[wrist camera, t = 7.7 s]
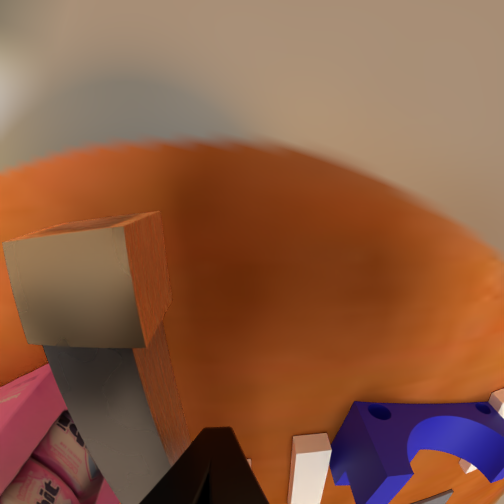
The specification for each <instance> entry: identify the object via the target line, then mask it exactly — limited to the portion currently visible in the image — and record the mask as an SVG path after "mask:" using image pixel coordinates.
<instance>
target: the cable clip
mask: <svg viewBox="0 0 504 504" xmlns="http://www.w3.org/2000/svg"><path fill="white" fill-rule="evenodd" d="M331 449H332V451H331V456H330V461H329V465H330V469H331V473H332V476H333V480H334V484H335V485H350V486H351V489H352V493H353V496H354V499H355V502H356V504H388V503H389V502H390V501H391V500H392V499H393V498H394V496H395V495H396V494H397V493H398V492H399V491H400V490H401V489H402V487H403V486H404V485H405V484H406V483H407V481H408V480H409V479H410V478H411V477H412V475H413V474H414V473H413V471H412V468H411V466H410V462H411V460H412V459H413V458H414V456H415V455H416V454H417V452H418V451H419V450H420V449H430V450H438V451H443V452H447V453H450V454H453V455H456V456H458V457H460V458H462V459H464V460H466V461H467V462H469V463H471V464H472V465H473V466H475V467H476V468H477V469H478V470H480V471H481V472H482V473H483V474H484V475H485V477H486V478H487V479H488V480H489V482H490V483H492V482H495V481H498V480H501V479H503V478H504V419H503V418H502V416H501V415H500V414H499V413H498V412H497V411H496V410H495V409H494V408H493V407H492V406H491V404H490V403H489V402H473V403H450V404H398V403H374V402H358V401H354V403H353V405H352V407H351V409H350V411H349V413H348V415H347V417H346V418H345V420H344V422H343V424H342V426H341V428H340V430H339V431H338V433H337V435H336V437H335V439H334V440H333V442H332V444H331Z"/></svg>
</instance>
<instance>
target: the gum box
mask: <svg viewBox="0 0 504 504" xmlns="http://www.w3.org/2000/svg"><path fill="white" fill-rule="evenodd" d="M119 502H120V501H119V500H118V498H117V497H116V495H115V494H114V492H113V491H112V489H111V488H110V486H109V484H108V483H107V481H106V480H105V478H104V476H103V475H102V473H101V471H100V470H99V468H98V466H97V465H96V463H95V461H94V459H93V458H92V456H91V454H90V452H89V450H88V449H87V447H86V445H85V443H84V441H83V439H82V437H81V435H80V433H79V431H78V429H77V427H76V425H75V423H74V421H73V419H72V417H71V415H70V413H69V411H68V409H67V406H66V404H65V402H64V400H63V397H62V395H61V393H60V390H59V388H58V385H57V383H56V381H55V378H54V376H53V373H52V370H51V368H50V365H49V363H48V364H46V365H44V366H42V367H40V368H38V369H36V370H34V371H32V372H30V373H28V374H26V375H24V376H21V377H19V378H17V379H15V380H14V381H12V382H10V383H8V384H6V385H4V386H1V387H0V504H119Z"/></svg>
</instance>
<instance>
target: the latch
mask: <svg viewBox="0 0 504 504" xmlns="http://www.w3.org/2000/svg"><path fill="white" fill-rule="evenodd" d="M2 244H3V250H4V255H5V260H6V265H7V270H8V274H9V279H10V283H11V287H12V291H13V295H14V299H15V303H16V306H17V310H18V313H19V317H20V320H21V323H22V326H23V330H24V333H25V336H26V339H27V342H28V344H35V345H43V348H44V351H45V354H46V357H47V360H48V362H49V365H50V368H51V370H52V373H53V376H54V378H55V381H56V383H57V385H58V388H59V390H60V393H61V395H62V397H63V400H64V402H65V404H66V406H67V409H68V411H69V413H70V415H71V417H72V419H73V421H74V423H75V425H76V427H77V429H78V431H79V433H80V435H81V437H82V439H83V441H84V443H85V445H86V447H87V449H88V450H89V452H90V454H91V456H92V458H93V459H94V461H95V463H96V465H97V466H98V468H99V470H100V471H101V473H102V475H103V476H104V478H105V480H106V481H107V483H108V484H109V486H110V488H111V489H112V491H113V492H114V494H115V495H116V497H117V498H118V500H119V501H120V503H121V504H139V503H140V502H141V501H142V500H143V498H144V497H145V496H146V495H147V494H148V493H149V492H150V491H151V490H152V488H153V487H154V486H155V485H156V484H157V483H158V482H159V481H160V479H161V478H162V477H163V476H164V475H165V474H166V473H167V471H168V470H169V469H170V468H171V467H172V466H173V464H174V463H175V462H176V461H177V460H178V459H179V457H180V456H181V455H182V454H183V453H184V451H185V450H186V449H187V448H188V447H189V445H190V444H191V443H192V442H191V438H190V435H189V431H188V427H187V424H186V420H185V416H184V413H183V409H182V405H181V401H180V397H179V393H178V389H177V385H176V381H175V377H174V373H173V368H172V364H171V359H170V355H169V350H168V345H167V341H166V336H165V331H164V326H163V321H162V318H163V317H164V315H165V313H166V311H167V310H168V308H169V306H170V304H171V303H172V301H173V298H172V292H171V286H170V279H169V272H168V265H167V258H166V251H165V243H164V235H163V227H162V219H161V211H154V212H145V213H137V214H128V215H120V216H113V217H105V218H97V219H90V220H83V221H76V222H69V223H62V224H58V225H55V226H51V227H48V228H45V229H42V230H39V231H35V232H32V233H29V234H26V235H23V236H20V237H17V238H14V239H11V240H8V241H5V242H2Z"/></svg>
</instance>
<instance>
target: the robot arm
mask: <svg viewBox="0 0 504 504" xmlns="http://www.w3.org/2000/svg"><path fill="white" fill-rule="evenodd" d="M139 504H269V502H268V500H267V498H266V496H265V495H264V493H263V491H262V489H261V487H260V485H259V483H258V481H257V479H256V477H255V475H254V473H253V471H252V469H251V467H250V465H249V463H248V461H247V459H246V457H245V455H244V453H243V450H242V448H241V446H240V444H239V442H238V440H237V438H236V435H235V433H234V431H233V429H232V428H231V427H229V426H228V427H206V428H204V429H203V430H202V431H201V432H200V433H199V435H198V436H197V437H196V438H195V439H194V441H193V442H192V443H191V444H190V445H189V447H188V448H187V449H186V450H185V451H184V453H183V454H182V455H181V456H180V457H179V459H178V460H177V461H176V462H175V463H174V464H173V466H172V467H171V468H170V469H169V470H168V471H167V473H166V474H165V475H164V476H163V477H162V478H161V479H160V481H159V482H158V483H157V484H156V485H155V486H154V487H153V488H152V490H151V491H150V492H149V493H148V494H147V495H146V496H145V497H144V498H143V500H142V501H141V502H140V503H139Z"/></svg>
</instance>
